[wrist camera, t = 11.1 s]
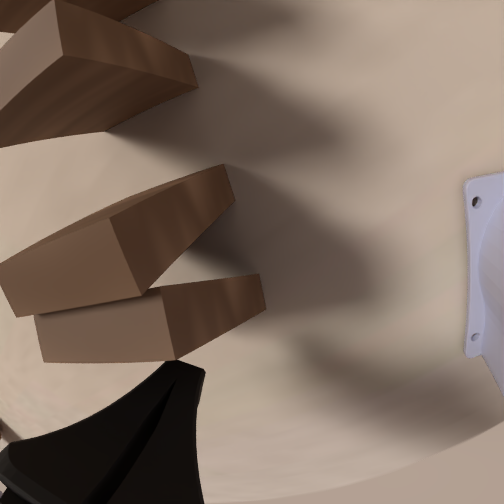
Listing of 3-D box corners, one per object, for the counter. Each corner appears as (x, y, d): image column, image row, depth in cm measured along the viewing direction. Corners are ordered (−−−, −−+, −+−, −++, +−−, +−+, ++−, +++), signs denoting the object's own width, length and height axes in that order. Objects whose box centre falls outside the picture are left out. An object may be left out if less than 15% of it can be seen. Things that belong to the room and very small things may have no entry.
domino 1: (266, 309, 14) (175, 360, 6) (170, 324, 15) (43, 362, 8) (259, 273, 14) (160, 286, 6) (163, 292, 16) (33, 310, 8)
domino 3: (198, 87, 12) (63, 54, 4) (104, 131, 13) (-42, 158, 6) (188, 54, 11) (54, -2, 4) (95, 102, 12) (-50, 111, 5)
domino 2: (235, 200, 13) (141, 295, 6) (137, 229, 14) (16, 317, 7) (223, 163, 13) (108, 217, 5) (126, 198, 14) (-8, 268, 7)
